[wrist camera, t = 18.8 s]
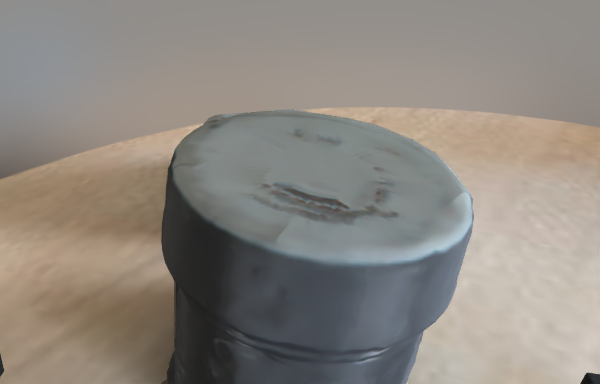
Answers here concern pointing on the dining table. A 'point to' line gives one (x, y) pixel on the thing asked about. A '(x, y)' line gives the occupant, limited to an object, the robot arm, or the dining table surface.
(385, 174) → the sauce bottle
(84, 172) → the dining table surface
